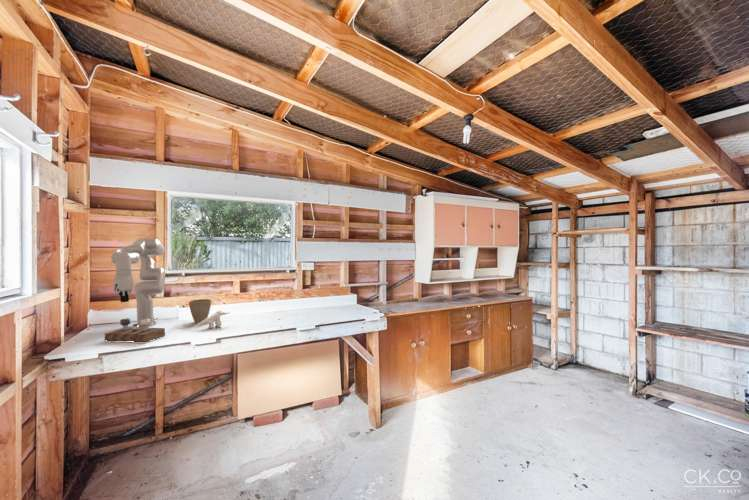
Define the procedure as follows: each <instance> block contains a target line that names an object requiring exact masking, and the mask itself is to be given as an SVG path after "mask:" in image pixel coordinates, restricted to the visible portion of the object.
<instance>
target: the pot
mask: <svg viewBox="0 0 749 500" xmlns="http://www.w3.org/2000/svg"><path fill="white" fill-rule="evenodd" d="M131 327H132V331H138V330H139V328H138V324H137V323H134V324H133V325H132V326H131Z"/></svg>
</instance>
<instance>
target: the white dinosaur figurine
mask: <svg viewBox="0 0 749 500" xmlns="http://www.w3.org/2000/svg"><path fill="white" fill-rule="evenodd" d="M230 313H231V312H230V311H229V312H225V311H222V310H220V309H219V310H217V311H216V312H215V313H213V314H211V315H210V316H208V317H207V318H206V319H205V320H203V321H202V322H200V323H196V324H194V326H193V328H194V327H200V326H203V325H208V328H209V329H213V328H214V325H215V327H217V328H221V327H222V321H221V316H224V315H228V314H230Z"/></svg>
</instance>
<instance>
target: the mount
mask: <svg viewBox="0 0 749 500" xmlns="http://www.w3.org/2000/svg"><path fill="white" fill-rule="evenodd" d="M138 328H139V330H138V331H132V326H130V327H129V326H128V331H123V327H122V328H118V329H116V330H112V331H108V332H105V333H104V341H105V340H107V341H134V342H148V341H150V340H153V339H156V340H158V339H161V338H163V337H165V336H166V328H165V327H148V331H147V332H143V327H138ZM160 337H161V338H160ZM157 338H158V339H157ZM153 341H154V340H153ZM150 342H151V341H150ZM148 343H149V342H148Z"/></svg>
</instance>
